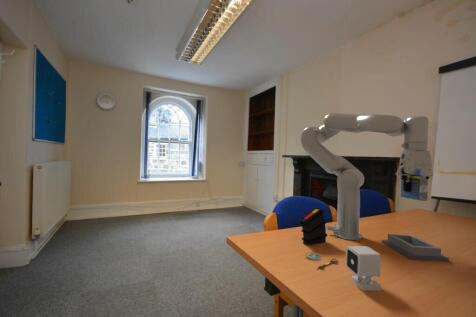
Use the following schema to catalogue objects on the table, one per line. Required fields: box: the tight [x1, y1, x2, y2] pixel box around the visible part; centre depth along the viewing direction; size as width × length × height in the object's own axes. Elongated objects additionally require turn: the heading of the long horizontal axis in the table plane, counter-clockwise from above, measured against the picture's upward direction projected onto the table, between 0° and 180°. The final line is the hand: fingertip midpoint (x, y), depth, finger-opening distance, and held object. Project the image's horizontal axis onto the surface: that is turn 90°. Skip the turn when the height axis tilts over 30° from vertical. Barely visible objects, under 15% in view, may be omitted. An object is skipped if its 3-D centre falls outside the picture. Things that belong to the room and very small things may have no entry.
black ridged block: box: [298, 206, 328, 247], centre depth 95 cm, size 4×13×15 cm, turn 118°
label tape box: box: [400, 169, 429, 202], centre depth 90 cm, size 9×4×12 cm, turn 6°
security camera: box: [345, 245, 382, 292], centre depth 63 cm, size 6×7×10 cm
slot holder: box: [381, 233, 450, 262], centre depth 90 cm, size 14×17×4 cm
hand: (413, 191), depth 90 cm, fingers closed on label tape box, 4 cm apart
